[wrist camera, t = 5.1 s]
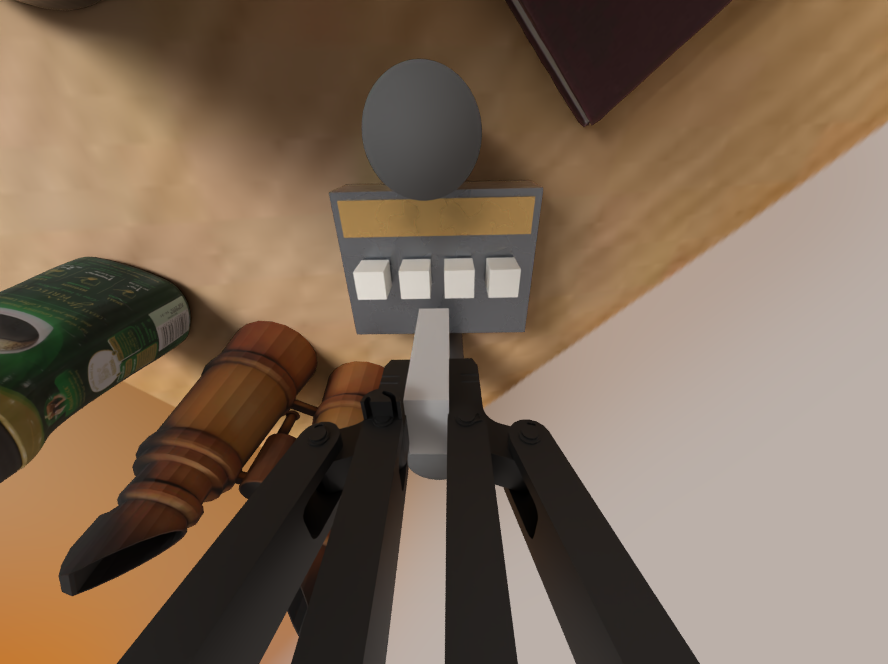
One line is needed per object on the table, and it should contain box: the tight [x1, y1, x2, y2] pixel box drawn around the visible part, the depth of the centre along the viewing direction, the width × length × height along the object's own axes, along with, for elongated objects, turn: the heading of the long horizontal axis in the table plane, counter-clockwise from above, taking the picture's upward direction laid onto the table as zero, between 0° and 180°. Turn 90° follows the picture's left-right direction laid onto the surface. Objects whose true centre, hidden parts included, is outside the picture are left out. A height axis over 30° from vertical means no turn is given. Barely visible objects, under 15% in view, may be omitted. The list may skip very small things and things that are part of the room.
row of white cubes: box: [353, 257, 521, 300], centre depth 22 cm, size 2×11×2 cm, turn 91°
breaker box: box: [329, 180, 543, 334], centre depth 25 cm, size 11×14×4 cm
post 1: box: [362, 59, 482, 201], centre depth 17 cm, size 4×4×14 cm
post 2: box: [408, 333, 464, 480], centre depth 26 cm, size 4×4×14 cm
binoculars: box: [59, 321, 384, 636], centre depth 26 cm, size 18×8×20 cm, turn 61°
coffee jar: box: [0, 257, 191, 483], centre depth 22 cm, size 10×8×19 cm
